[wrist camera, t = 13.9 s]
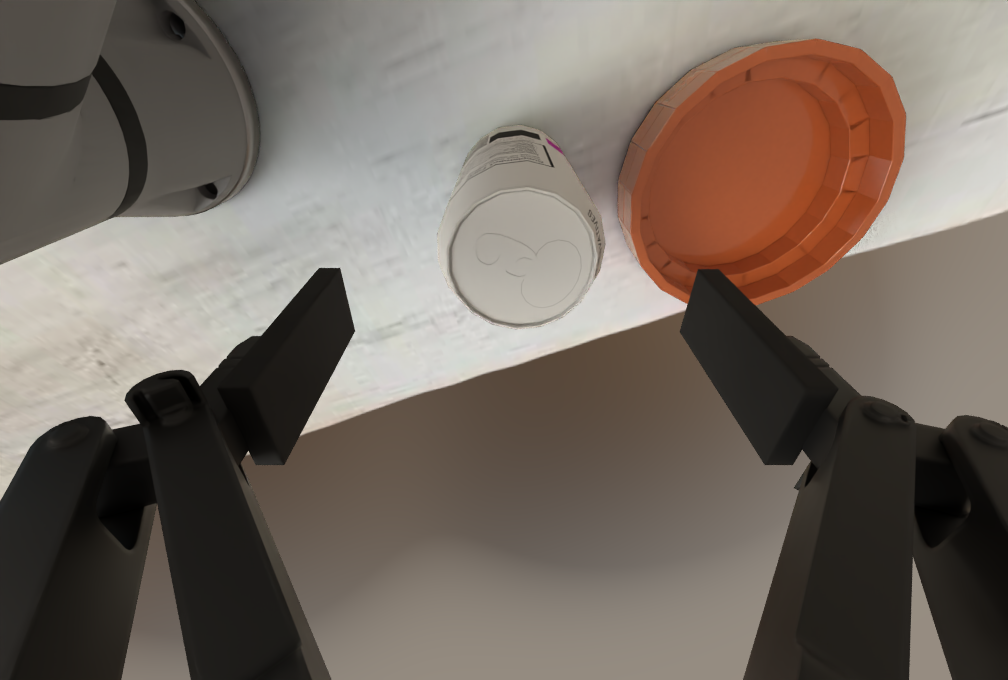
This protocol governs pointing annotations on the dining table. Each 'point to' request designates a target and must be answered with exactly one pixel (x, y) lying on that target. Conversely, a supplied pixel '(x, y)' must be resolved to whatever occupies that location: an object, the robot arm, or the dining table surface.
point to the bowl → (762, 167)
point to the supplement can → (519, 231)
